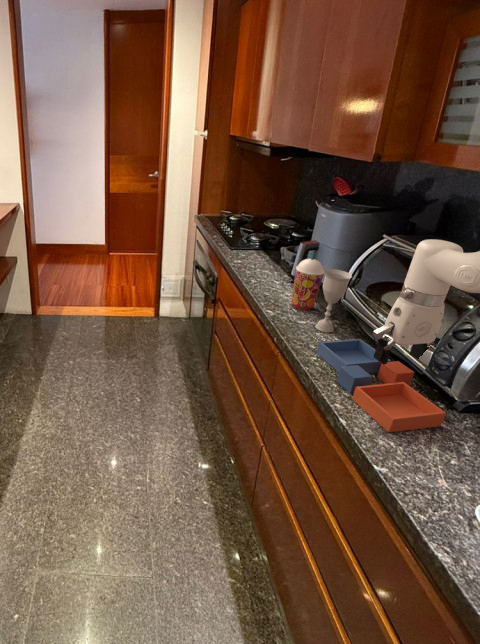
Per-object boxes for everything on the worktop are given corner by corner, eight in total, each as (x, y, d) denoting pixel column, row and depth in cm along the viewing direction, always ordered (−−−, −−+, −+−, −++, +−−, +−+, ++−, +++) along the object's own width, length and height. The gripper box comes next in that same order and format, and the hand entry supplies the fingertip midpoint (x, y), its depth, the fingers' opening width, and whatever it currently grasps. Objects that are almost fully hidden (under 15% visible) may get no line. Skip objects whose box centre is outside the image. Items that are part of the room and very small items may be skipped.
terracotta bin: (399, 393, 90) (403, 381, 89) (440, 426, 81) (446, 413, 80) (352, 399, 89) (355, 386, 88) (388, 432, 80) (393, 419, 78)
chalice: (342, 334, 115) (357, 278, 108) (319, 334, 115) (333, 278, 108) (329, 322, 121) (342, 269, 115) (307, 322, 122) (319, 269, 115)
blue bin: (356, 349, 107) (360, 338, 106) (387, 371, 98) (391, 360, 97) (316, 353, 106) (319, 342, 105) (343, 376, 97) (346, 364, 95)
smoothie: (288, 299, 136) (299, 245, 129) (315, 303, 133) (328, 249, 125) (288, 309, 129) (299, 253, 122) (316, 314, 126) (329, 257, 118)
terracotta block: (393, 375, 97) (398, 360, 95) (408, 387, 92) (414, 372, 91) (376, 377, 96) (381, 362, 94) (392, 389, 92) (397, 373, 90)
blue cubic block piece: (353, 380, 95) (357, 364, 93) (367, 392, 91) (372, 376, 89) (336, 381, 95) (340, 366, 93) (350, 393, 91) (354, 378, 89)
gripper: (401, 305, 81) (377, 372, 88) (473, 300, 83) (444, 366, 90) (373, 290, 88) (353, 352, 95) (440, 286, 90) (416, 347, 97)
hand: (397, 359), depth 92 cm, fingers open, 9 cm apart
